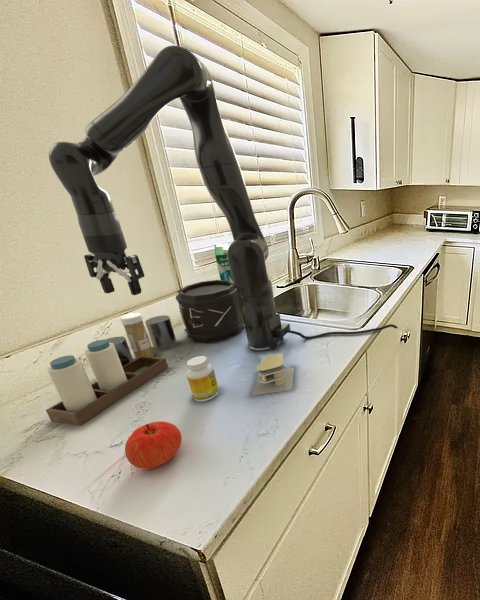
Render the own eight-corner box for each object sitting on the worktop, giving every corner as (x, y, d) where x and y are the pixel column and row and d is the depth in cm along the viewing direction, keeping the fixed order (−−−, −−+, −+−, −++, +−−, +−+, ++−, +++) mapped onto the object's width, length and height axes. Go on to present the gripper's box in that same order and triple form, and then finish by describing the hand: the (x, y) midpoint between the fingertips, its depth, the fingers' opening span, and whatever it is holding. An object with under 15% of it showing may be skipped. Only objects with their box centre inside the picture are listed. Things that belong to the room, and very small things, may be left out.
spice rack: (168, 369, 88) (165, 358, 86) (81, 427, 68) (75, 414, 66) (144, 366, 89) (141, 355, 88) (52, 423, 69) (45, 410, 68)
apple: (120, 478, 56) (105, 442, 53) (153, 442, 64) (141, 409, 61) (166, 477, 56) (153, 442, 53) (194, 442, 64) (183, 409, 61)
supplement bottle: (194, 391, 79) (184, 357, 75) (219, 385, 81) (211, 352, 77) (192, 405, 74) (181, 369, 71) (219, 398, 76) (209, 363, 73)
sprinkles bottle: (154, 359, 93) (140, 316, 88) (134, 363, 91) (118, 320, 86) (155, 352, 96) (141, 310, 92) (136, 356, 94) (121, 314, 89)
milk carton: (228, 314, 122) (213, 248, 113) (227, 306, 129) (214, 244, 120) (254, 310, 126) (242, 246, 117) (252, 302, 133) (240, 241, 124)
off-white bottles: (135, 386, 80) (117, 338, 75) (82, 420, 69) (57, 367, 64) (118, 384, 81) (99, 337, 76) (63, 417, 70) (37, 365, 65)
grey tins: (181, 342, 102) (174, 316, 99) (120, 379, 84) (108, 348, 81) (165, 340, 103) (157, 314, 100) (101, 376, 85) (88, 346, 82)
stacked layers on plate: (258, 372, 86) (255, 354, 84) (293, 367, 88) (291, 349, 86) (252, 395, 77) (248, 376, 75) (291, 389, 79) (288, 370, 77)
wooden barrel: (171, 342, 102) (157, 295, 96) (213, 318, 118) (203, 277, 113) (220, 347, 98) (208, 299, 93) (257, 323, 115) (249, 280, 109)
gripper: (140, 230, 83) (158, 290, 89) (94, 228, 85) (114, 287, 91) (111, 235, 76) (132, 300, 82) (62, 233, 78) (86, 296, 84)
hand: (123, 293), depth 86 cm, fingers open, 8 cm apart
